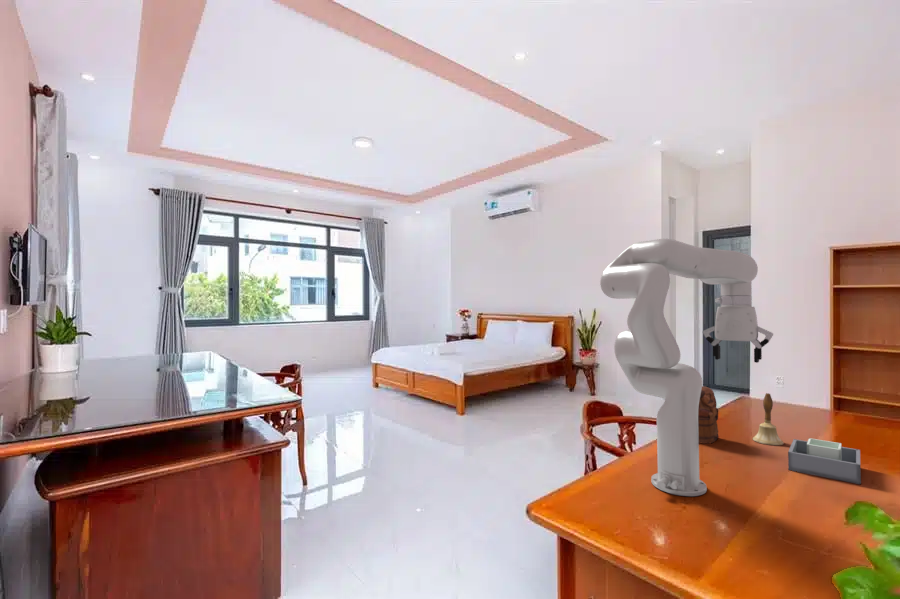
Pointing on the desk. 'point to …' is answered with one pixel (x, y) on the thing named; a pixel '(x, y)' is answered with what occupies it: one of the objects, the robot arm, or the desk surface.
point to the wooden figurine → (707, 416)
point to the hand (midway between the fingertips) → (736, 360)
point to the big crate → (825, 463)
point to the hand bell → (768, 426)
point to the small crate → (824, 449)
